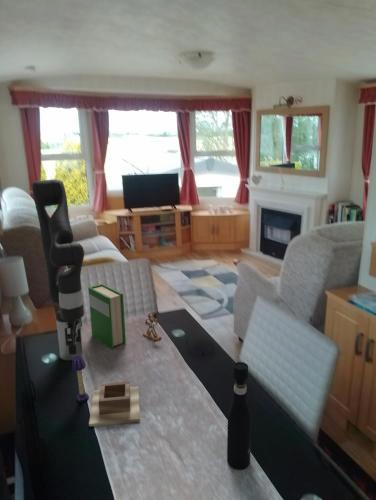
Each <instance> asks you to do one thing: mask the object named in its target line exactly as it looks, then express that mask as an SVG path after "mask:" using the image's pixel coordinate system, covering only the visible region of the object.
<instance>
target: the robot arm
mask: <svg viewBox="0 0 376 500" xmlns="http://www.w3.org/2000/svg"><path fill="white" fill-rule="evenodd" d="M31 189H32V196H33V199H34V200H33V201H34V204H35V210H36V213H37V219H38V224H39V228H40V236H41V243H42V245H41V246H42V250H43V255H44V260H45V264H46V265H45V267H46V271H47V281H48V282H47V283H48V292H49V298H50V301H51V302H52V304H56V305H57V304H59V305H58V306H59V310H57V312H56V314H55V320H56V329H57V330H56V331H57V339H58V347H59V357H60V359H61V360H64V361H73V357H74V356H76V355H81V356H82V357H83V343H82V327H83V324H82V323H83V322H82V321H83V320H82V318H83V317H84V315H85V305H84V296H83V295H84V294H83V290H82V281H81V276H82V275H81V274H82V267H83V263H84V258H85V249H84V247H83V246H82V245H81V243H78V242H73V241H74V233H73V229H72V226H71V223H70V216H69V206H68V200H67V198H68V197H67V192H66V188H65V184H64V182H63V181H62V180H60V179H55V178H53V179H44V180H36V181H34V182H32V188H31ZM56 205H57V206H56ZM49 206H56V208H55V210H54V212H53V213H52V214H51V216H50V214H49V213H48V211H47V209H46V207H49ZM69 266H71V267H70V269H68V270H65V271H62V272H61V273H60V270H61V268H62V267H69Z"/></svg>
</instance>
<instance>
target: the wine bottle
mask: <svg viewBox="0 0 376 500" xmlns="http://www.w3.org/2000/svg"><path fill="white" fill-rule="evenodd" d="M232 371H233V374H232V375H233V379H235V383H234V386H233V391H232V401H231V403H230V406H229V408H228V414H227V434H226V436H227V440H226V441H227V442H226V443H227V444H226V447H227V448H226V462H227V465H228V466H229V467H231V468H232V469H234V470H237V471H242V470H245V469H247V468H249V466H250V464H251V445H252V444H251V443H252V414H251V407H250V405H249V403H248V402H249V401H248V391H247V384H246V380H248V379H249V365H248V364H247V363H245V362H242V361H240V362H239V361H237V362H235V363H234V364H233V369H232Z"/></svg>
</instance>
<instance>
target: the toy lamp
mask: <svg viewBox="0 0 376 500" xmlns="http://www.w3.org/2000/svg"><path fill="white" fill-rule="evenodd" d="M86 367H87V366H86V362H85V360H84V358H83V355H82V356H81V355H76V356H74V357H73V360H72V363H71V370H72V371H75V372H76V375H77V379H78V380H77V382H78V390H79V393H78V394H77V395H76V401H77V402H78V403H85V402H87V401H88V400H89V399H90V396H89V394H88V393H87V392H85V386H84V385H85V383H84V375H83V370H84V369H85V368H86Z"/></svg>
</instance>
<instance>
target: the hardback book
mask: <svg viewBox="0 0 376 500" xmlns="http://www.w3.org/2000/svg"><path fill="white" fill-rule="evenodd" d="M87 289H88V299H89V300H88V301H89V312H90V323H91V326H90V327H91V336H92V337H94V338H95V339H96V340H97V341H99V342H100V343H102V344H103V345H105V346H107V348H109V349H111V350H113V349H114V346H115V347H116V346H117V345H120V344H123V345H126V344H127V341H126V323H125V322H126V321H125V304H124V303H125V302H124V293H122V292H121V291H118V290H116V289H114V288H112V287H110V286H108V285H106V284H104V283H101V284H96V285H93V286H90V287H88V288H87Z"/></svg>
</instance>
